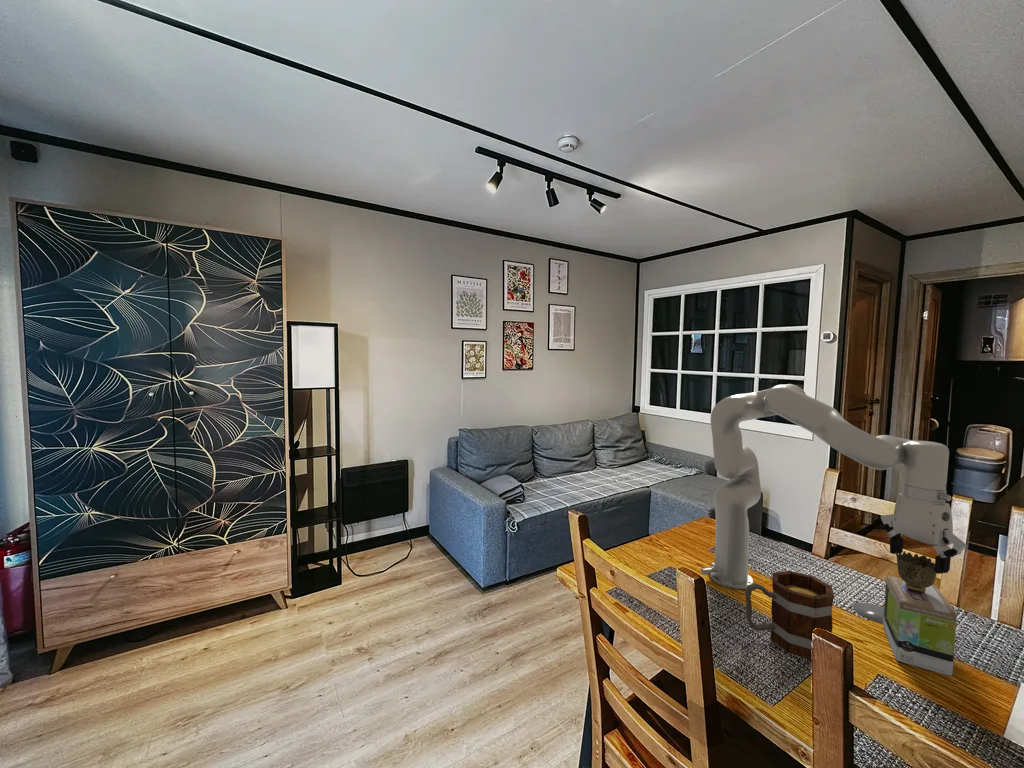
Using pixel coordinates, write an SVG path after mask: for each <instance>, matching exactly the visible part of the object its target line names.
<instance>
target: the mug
mask: <svg viewBox="0 0 1024 768" xmlns="http://www.w3.org/2000/svg"><path fill="white" fill-rule="evenodd" d="M771 577H772V578H771V579H772V580H771V582H772V591H768V590H767V589H766V588H765V587H764V585H762V584H758V583H756V582H755V583H754V582H753V584H751V585H748V587H747V589H745V592H744V593H745V594H744V595H745V615H746V617H745V618H746V621H747V623H748V625H749V626H750V627H749V628H751V629H753V630H755V631H757V632H760V631H770V634H769V635H770V640H771V641H772V642H774V643H775V644H776V645H777V646H778V647H780V648H781V649H782V650H783V651H784V652H786V653H787V654H790V655H793V656H796V657H800V658H803V659H806V660H810V661H812V660H811V642H812V633H813V630H814V629H815V628H821V629H824V630H827V631H829V632H831V633H832V632H833V605H834V599H835V594H834V590H833V586H832V585H829V583H826V582H825V581H823V580H820V579H819V578H817V577H815V576H813V575H811V574H804V573H800V572H796V571H791V570H785V571H778V572H777V571H776V572H772V576H771ZM755 590H760V591H761V592H762V593H763V594H764V595H765V596H767V597H768V598H770V599H771V608H770V611H771V622H765V623H758V624H756V623H754V622H753V619H752V618H753V616H752V615H753V613H752V612H753V611H752V610H753V604H752V600H751V597H752V593H753V591H755Z"/></svg>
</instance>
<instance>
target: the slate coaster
mask: <svg viewBox="0 0 1024 768" xmlns="http://www.w3.org/2000/svg"><path fill="white" fill-rule="evenodd" d="M852 609H853V610H854V612H856V613H857V614H858V615H860V616H861V617H862V618H865V619H867V620H869V621H871V622H874V621H875V623H878V624H883V619H884V606H880V605H877V604H875V603H869V602H856V603H853V605H852Z"/></svg>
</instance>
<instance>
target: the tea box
mask: <svg viewBox="0 0 1024 768" xmlns="http://www.w3.org/2000/svg"><path fill="white" fill-rule="evenodd" d="M885 579H886V580H885V591H884V594H885V595H884V606H883V607H884V619H883V625H882V627H883V630H884V633H885V635H886V638H887V641H888V643H889V646H890V648H891V651H892V653H893V656H894V658H895V660H896V661H898V662H901V663H904V664H907V665H910V666H914V667H917V668H921V669H924V670H927V671H931V672H934V673H937V674H938V673H939V674H942V675H945V676H949V677H952V676H953V673H954V672H953V671H954V660H955V659H954V658H955V645H956V644H955V643H956V634H957V633H956V632H957V622H958V619H957V618H958V614H957V613H956V611H955V610H954V608H953V607H952V606H951V604H950V602H949V601H948V600H947V598H946V597H945V595H943V593H942V591H941V590H940V589H939V588H938V586H937V585H935V584H933V585H932V586H930V587H927V588H926V591H925V592H924V593H915V592H912V591H910V590H908V589H907V588H906V586H905V583H906V582H905V581H903V580H902V579H901V577H897V576H893V575H888V574H887V575H886V578H885Z"/></svg>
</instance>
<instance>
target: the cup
mask: <svg viewBox="0 0 1024 768" xmlns="http://www.w3.org/2000/svg"><path fill="white" fill-rule="evenodd" d="M895 555H896V556H895V557H896V566H897V571H898V572H897V573H898V575H899V578H901V579H902V580H903V581H905V582H906V583H905V586H906V588H907V589H908V590H910V591H912V592H915V593H924V592H925V591H926V588H927V587H930V586H932V585H934V583H935V581H936V577H937V574H938V573H936V572H935V571H934V570H935V562H932V559H931V557H929V558H928V557H927V556H926V555H924V554H923V555H920V556H919V555H918V553H915V554H914V555H913V554H912V553H911V552H908V553H906V551H903V552H902V553H901V552H899V553H896V554H895Z"/></svg>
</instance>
